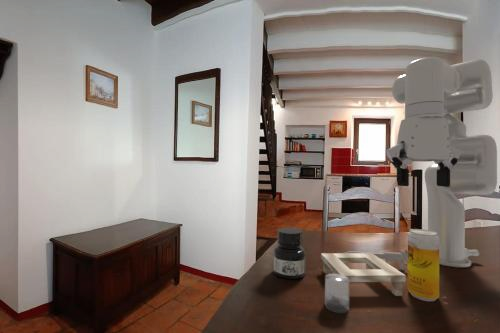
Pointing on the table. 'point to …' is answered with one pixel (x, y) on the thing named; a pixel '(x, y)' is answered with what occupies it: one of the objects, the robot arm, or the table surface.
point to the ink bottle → (289, 254)
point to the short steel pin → (337, 293)
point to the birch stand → (372, 273)
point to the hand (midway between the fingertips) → (423, 186)
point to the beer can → (423, 264)
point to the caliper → (390, 257)
